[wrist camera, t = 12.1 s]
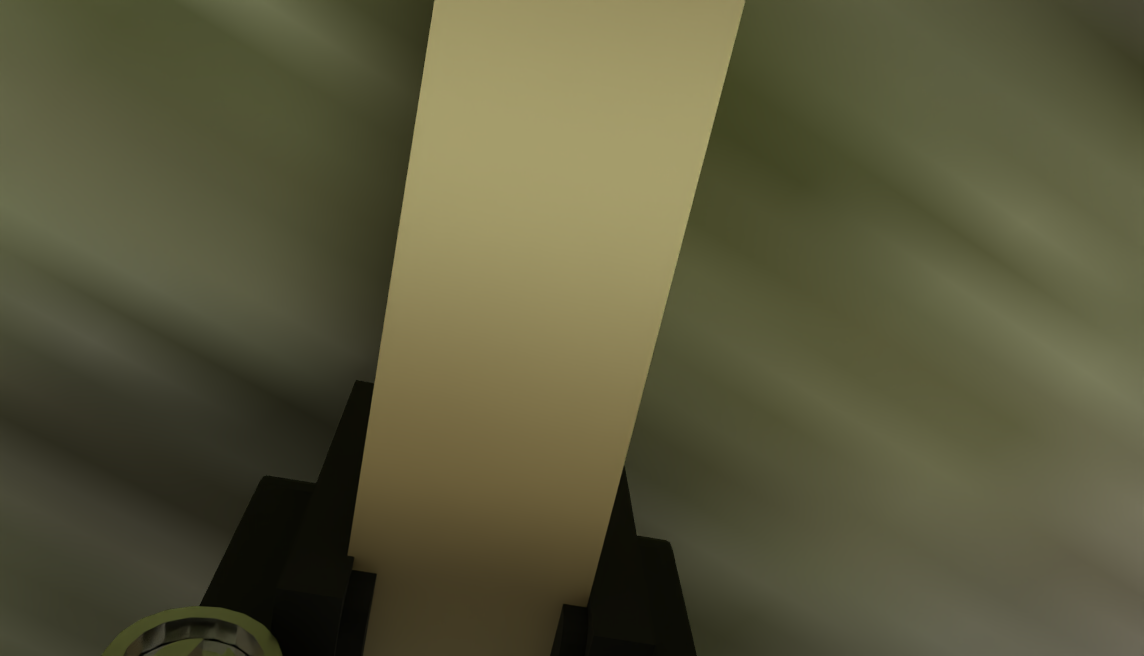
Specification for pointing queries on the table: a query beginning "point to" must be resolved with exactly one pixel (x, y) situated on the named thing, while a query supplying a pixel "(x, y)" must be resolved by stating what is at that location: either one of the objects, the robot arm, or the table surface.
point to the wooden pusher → (526, 307)
